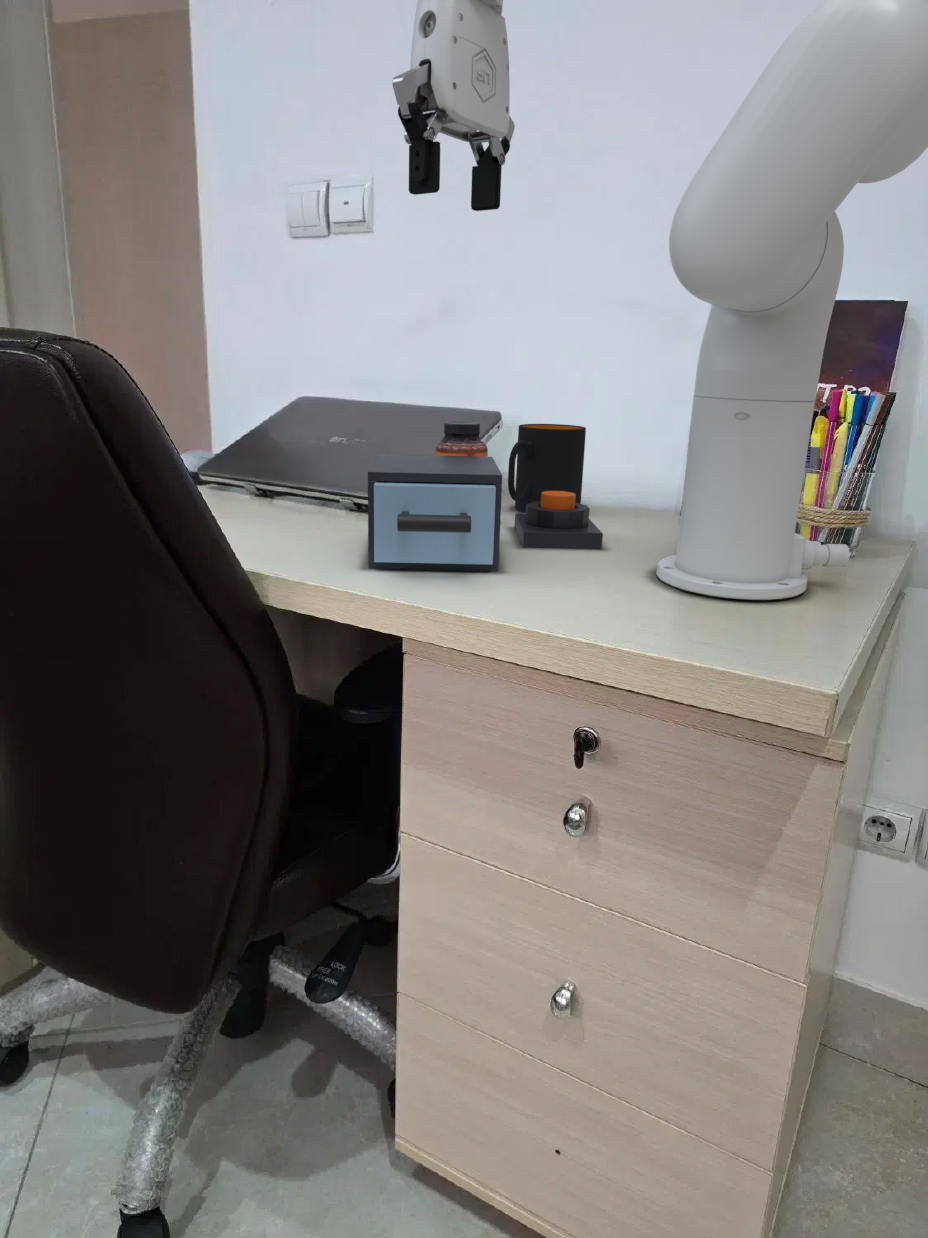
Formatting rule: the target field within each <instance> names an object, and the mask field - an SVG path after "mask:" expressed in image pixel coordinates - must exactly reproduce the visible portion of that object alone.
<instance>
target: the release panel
mask: <svg viewBox="0 0 928 1238" xmlns="http://www.w3.org/2000/svg"><path fill="white" fill-rule="evenodd" d="M514 530H515V532H516V535H517V537H518V539H519V542H520V544H521V546H522V548H524V549H563V550H566V549H567V550H568V549H569V550H602V549H603V538H604V537H603V536H604V535H603V534H604V533H603V532H602V531H601V529H599V528H598V526H596V525H595V523H593V521H592V520H591V519H590V506H589V505H587V504H583V503H581V504H579V503H575V509H568V510H558V509H547V508H542V507H541V501H538V502H532V503H529V504H526V513H515V514H514Z"/></svg>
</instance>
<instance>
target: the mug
mask: <svg viewBox="0 0 928 1238" xmlns="http://www.w3.org/2000/svg"><path fill="white" fill-rule="evenodd" d="M517 433H518V434H517V442H515V444H514V445H513V447H512V449H511V450H510V454H509V458H508V472H507V473H508V474H507V488H508V493H509V496H510V498H511V499H512V500H513V501H514V508H515V510H516V511H517V512H520V513H522V514H526V504H529V503H532V502H538V501H541V493H542V492H544V491H566V492H572V493H575V494H576V498H575V503H579V504H582V490H583V477H584V463H585V462H584V461H585V451H586V450H585V449H586V436H587V435H586V433H587V427H585V426H581V425H575V424H562V423H561V424H560V423H559V424H557V423H524V424H523V423H522V424H519V425H518V432H517ZM515 470H516V471H515ZM515 472H516V473H515ZM515 474H516V475H515ZM515 477H516V478H515Z"/></svg>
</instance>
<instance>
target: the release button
mask: <svg viewBox="0 0 928 1238" xmlns="http://www.w3.org/2000/svg"><path fill="white" fill-rule="evenodd" d="M575 498H576V494H575V493H572V492H566V491H544V492H542V493H541V507H542V508H547V509H558V510H568V509H575Z"/></svg>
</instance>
